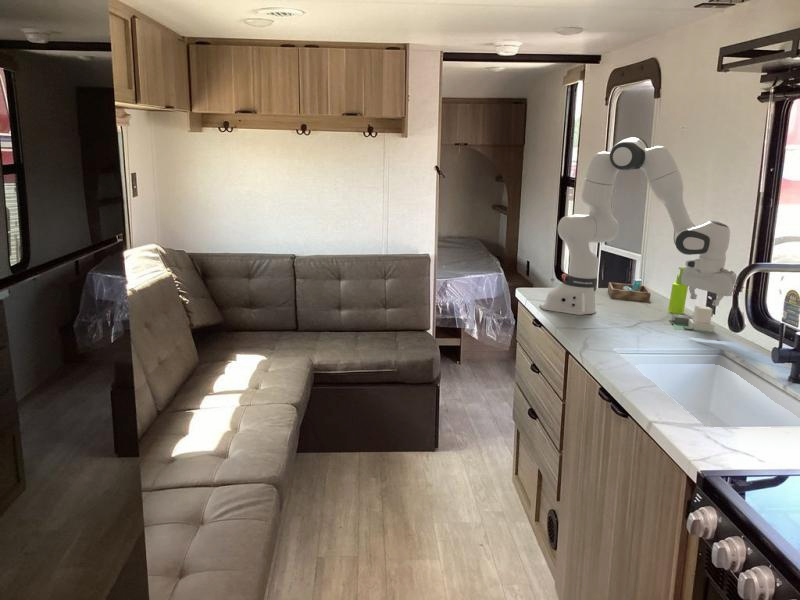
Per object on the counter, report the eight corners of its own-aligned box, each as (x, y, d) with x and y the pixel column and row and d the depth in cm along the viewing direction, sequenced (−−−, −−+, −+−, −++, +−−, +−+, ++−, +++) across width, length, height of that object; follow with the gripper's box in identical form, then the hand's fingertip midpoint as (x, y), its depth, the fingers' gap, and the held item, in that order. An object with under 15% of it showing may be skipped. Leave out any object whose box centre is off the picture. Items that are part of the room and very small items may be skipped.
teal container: (648, 300, 293) (651, 282, 291) (621, 298, 293) (624, 281, 291) (639, 294, 305) (642, 277, 303) (614, 292, 305) (616, 276, 303)
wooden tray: (610, 297, 292) (612, 289, 291) (607, 290, 307) (608, 282, 306) (649, 301, 288) (650, 293, 287) (644, 294, 304) (645, 285, 303)
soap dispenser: (687, 317, 263) (695, 269, 258) (669, 316, 264) (676, 268, 259) (683, 314, 268) (691, 267, 264) (666, 312, 269) (673, 265, 265)
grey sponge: (671, 324, 245) (672, 318, 244) (667, 319, 253) (668, 313, 252) (690, 326, 243) (691, 320, 243) (686, 321, 251) (687, 315, 251)
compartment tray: (674, 332, 239) (676, 322, 238) (667, 322, 253) (669, 313, 252) (715, 336, 236) (716, 327, 235) (705, 326, 250) (707, 317, 249)
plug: (694, 329, 240) (698, 308, 239) (691, 326, 244) (695, 305, 242) (711, 330, 240) (714, 309, 238) (707, 327, 244) (711, 307, 242)
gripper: (742, 271, 230) (734, 308, 233) (692, 260, 247) (686, 294, 250) (731, 272, 227) (724, 310, 230) (682, 260, 244) (675, 296, 247)
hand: (704, 302), depth 241 cm, fingers open, 8 cm apart
